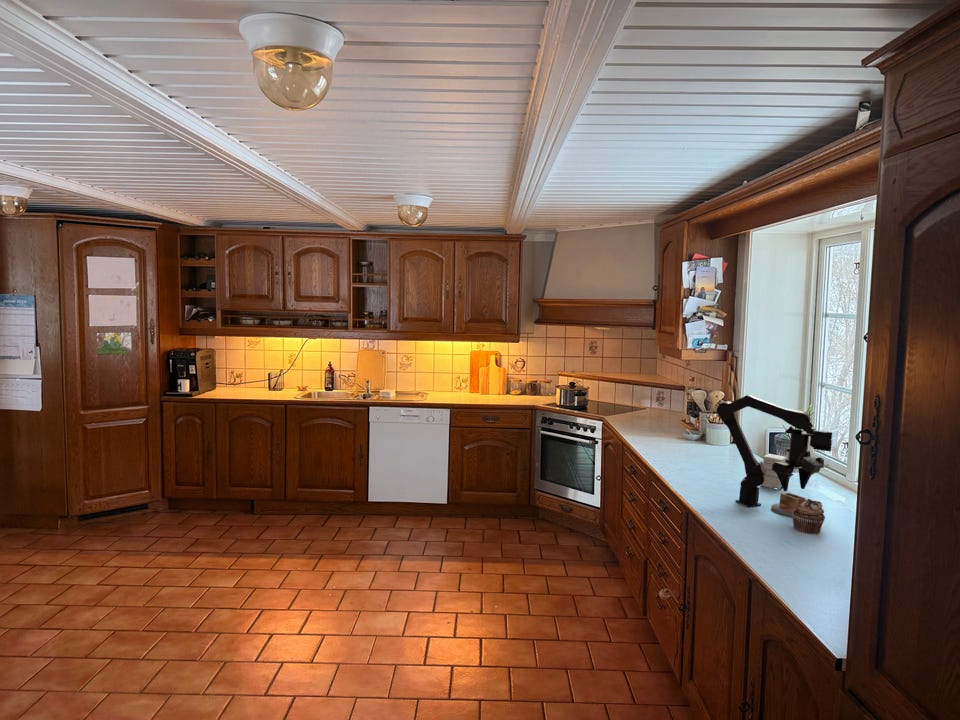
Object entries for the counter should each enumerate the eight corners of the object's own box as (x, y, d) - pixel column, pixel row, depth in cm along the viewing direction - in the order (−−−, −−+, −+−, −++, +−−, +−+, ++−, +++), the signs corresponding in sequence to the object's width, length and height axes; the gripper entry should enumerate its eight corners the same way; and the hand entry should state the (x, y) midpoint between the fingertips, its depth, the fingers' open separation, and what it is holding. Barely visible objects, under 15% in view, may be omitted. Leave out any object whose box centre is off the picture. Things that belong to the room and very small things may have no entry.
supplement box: (765, 483, 273) (768, 453, 272) (784, 487, 269) (787, 456, 268) (759, 486, 268) (763, 455, 267) (779, 490, 263) (782, 459, 262)
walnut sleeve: (779, 506, 237) (780, 493, 237) (787, 505, 239) (788, 492, 239) (795, 513, 231) (797, 499, 231) (804, 511, 233) (805, 498, 233)
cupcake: (794, 522, 224) (797, 494, 223) (826, 530, 217) (829, 501, 216) (787, 529, 216) (790, 499, 215) (819, 537, 210) (822, 507, 209)
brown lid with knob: (794, 519, 227) (796, 507, 226) (763, 508, 238) (764, 495, 238) (819, 516, 232) (820, 503, 232) (787, 504, 244) (789, 492, 244)
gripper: (800, 453, 222) (796, 499, 223) (836, 450, 230) (831, 494, 232) (772, 446, 231) (768, 489, 233) (808, 443, 240) (803, 485, 241)
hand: (793, 490), depth 234 cm, fingers open, 9 cm apart
